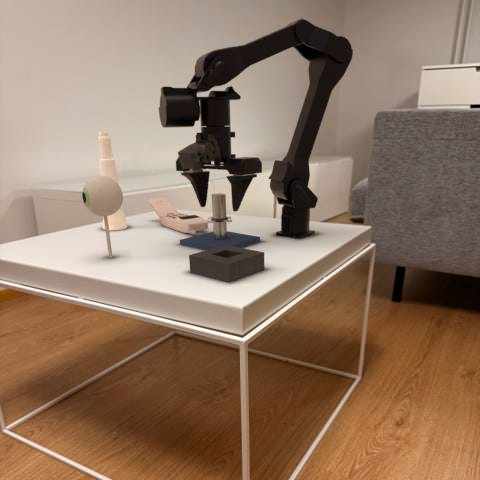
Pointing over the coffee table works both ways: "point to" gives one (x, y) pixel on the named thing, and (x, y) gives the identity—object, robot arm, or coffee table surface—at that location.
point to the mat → (209, 242)
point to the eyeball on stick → (103, 200)
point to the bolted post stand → (219, 216)
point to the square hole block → (226, 262)
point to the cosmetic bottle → (109, 170)
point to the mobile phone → (177, 217)
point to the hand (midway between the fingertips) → (218, 209)
